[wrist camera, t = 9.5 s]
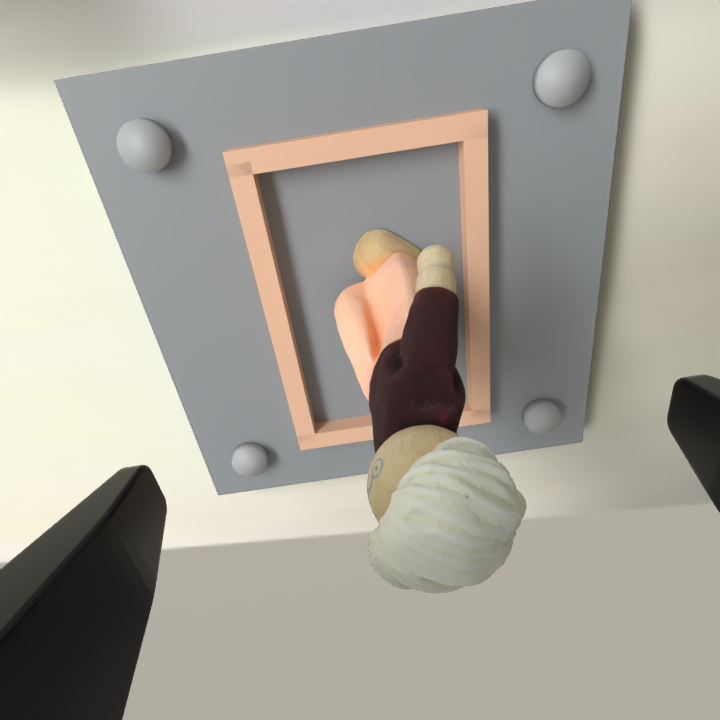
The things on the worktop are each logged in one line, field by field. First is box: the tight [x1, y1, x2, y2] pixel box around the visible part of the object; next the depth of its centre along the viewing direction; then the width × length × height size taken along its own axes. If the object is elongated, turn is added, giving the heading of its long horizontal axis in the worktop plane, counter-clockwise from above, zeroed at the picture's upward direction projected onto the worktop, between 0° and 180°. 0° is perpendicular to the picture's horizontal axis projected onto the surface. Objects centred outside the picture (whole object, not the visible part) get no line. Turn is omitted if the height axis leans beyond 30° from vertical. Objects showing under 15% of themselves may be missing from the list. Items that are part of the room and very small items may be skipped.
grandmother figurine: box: [334, 229, 526, 593], centre depth 14 cm, size 8×4×13 cm, turn 3°
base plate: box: [54, 0, 632, 495], centre depth 20 cm, size 18×18×2 cm
